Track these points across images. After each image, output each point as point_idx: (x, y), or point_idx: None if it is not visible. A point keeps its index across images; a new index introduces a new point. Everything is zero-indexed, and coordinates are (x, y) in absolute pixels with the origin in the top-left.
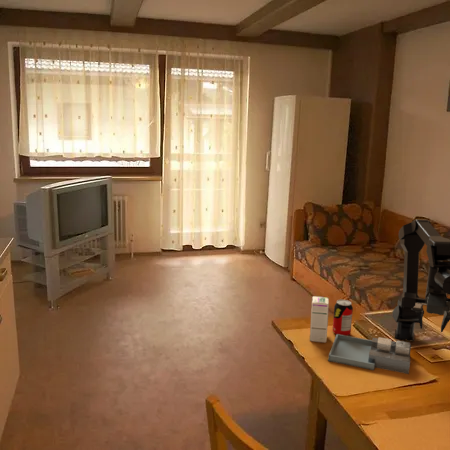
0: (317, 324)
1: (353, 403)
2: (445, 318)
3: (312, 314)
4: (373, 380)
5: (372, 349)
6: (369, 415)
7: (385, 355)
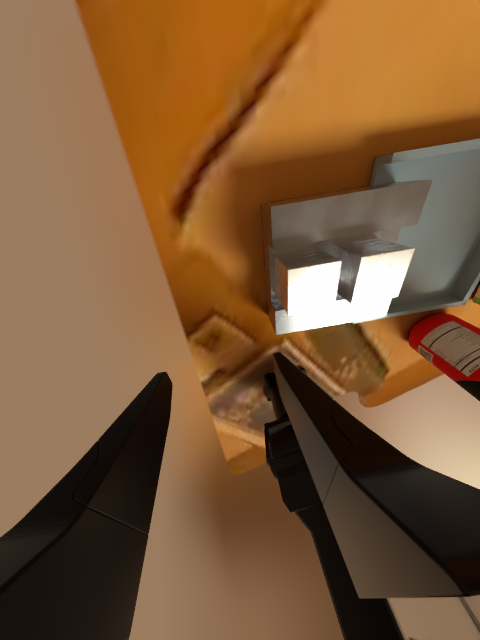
0: None
1: None
2: (78, 507)
3: None
4: (391, 47)
5: None
6: None
7: (364, 210)
